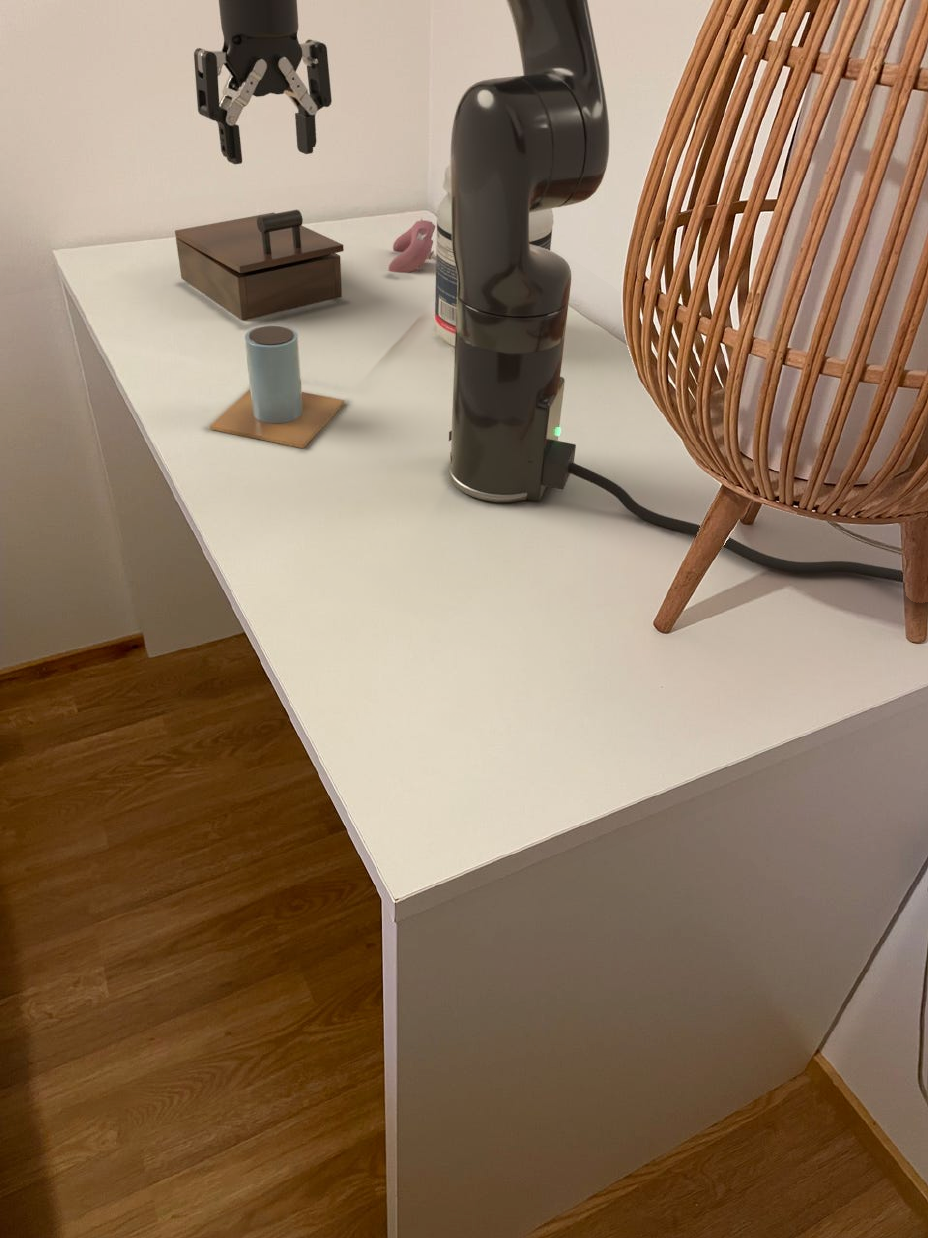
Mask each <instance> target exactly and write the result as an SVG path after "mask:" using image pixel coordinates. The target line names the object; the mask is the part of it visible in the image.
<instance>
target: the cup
mask: <svg viewBox="0 0 928 1238" xmlns="http://www.w3.org/2000/svg"><path fill="white" fill-rule="evenodd" d="M244 345H245V354H246V363H247V371H248V372H247V374H248V381H249V390H250V392H251V402H252V411H253V415H254V417H255V418H256V419H258V420H260V421H263V422H266V423H275V424H278V423H287V422H291V421H293V420H296V419H297V418H299V417H300V416H301V415H302V413H303V404H302V392H303V390H302V376H301V363H300V362H301V361H300V347H299V346H300V345H299V334H298V332H297V331H296V330H294V329H292V328H290V327H287V326H283V325H276V324H275V325H274V324H273V325H272V324H271V325H261V326H257V327H254V328H251V329H250V330H248V331H247V332H246V333H245V334H244Z"/></svg>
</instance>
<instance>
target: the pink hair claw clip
mask: <svg viewBox="0 0 928 1238" xmlns="http://www.w3.org/2000/svg"><path fill="white" fill-rule="evenodd" d="M435 229H436V225H435V223H433V221H430V220H429V219H428V220H423V218H422V217H420V219H419V220H417V221H415V222H414V223H413V225H412V226H411V227H410V228H409V229H408V230H406V231H405V232H404V233H402V234H401V235H400V236H397V238H396V240H395V241H394V242H393V245H392V250H393V252H398V253H400V254H399V255H397V256H396V257H394V258H393V260H392V261H390V263H389V265H388V272H393V273H412V272H414V271H416V269H417V268H418V269H420V267H421V266H422V265H423V264H425V261H426V260H427V259H428V260H431V259H433V258H434V255H435V251H434V250H432V249H433V244H434V240H433V239H432V238H433V236H434V233H435Z"/></svg>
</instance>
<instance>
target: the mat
mask: <svg viewBox="0 0 928 1238" xmlns="http://www.w3.org/2000/svg"><path fill="white" fill-rule="evenodd" d="M302 404H303V413H302V415H301V416H300V417H299V418H297V419H296V420H293V421H291V422H287V423H278V424H275V423H266V422H263V421H260V420H258V419H256V418H255V417H254V415H253V411H252V402H251V392H250V389H248V390H247V391H246V392H245V393H244V394H243V395H242V396H241V397H239V398H238V399H237V400H236V401H235V402H234V403H233V404H232V405H230V407H229V408H227V410H225V411H224V412H223V413H222V414H221V415H220V416H219V417H218V418H216V419H215V420H214V421H213V422H212V423H211V424H210V425H209V429H210V430H212V431H216V432H221V433H227V434H231V435H236V436H241V437H245V438H250V439H256V440H260V441H266V442H269V443H276V444H280V445H285V446H290V447H295V448H300V449H305V447H306V446H307V445H309V443H310V442H311V441H312V440H313V439H314V438H315V436H317V434H318V433H319V432H320V431H321V430H322V429H323V428H324V427H325V425H326V424H327V423H328V422H330V420H331V419H332V418H333V417H334V415H336V413H337V412H338V411H339V410H340V409H341V408H342V407H343V406H344V404H345V400H344V399H341V398H336V397H330V396H325V395H319V394H314V393H309V392H305V391H302Z"/></svg>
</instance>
